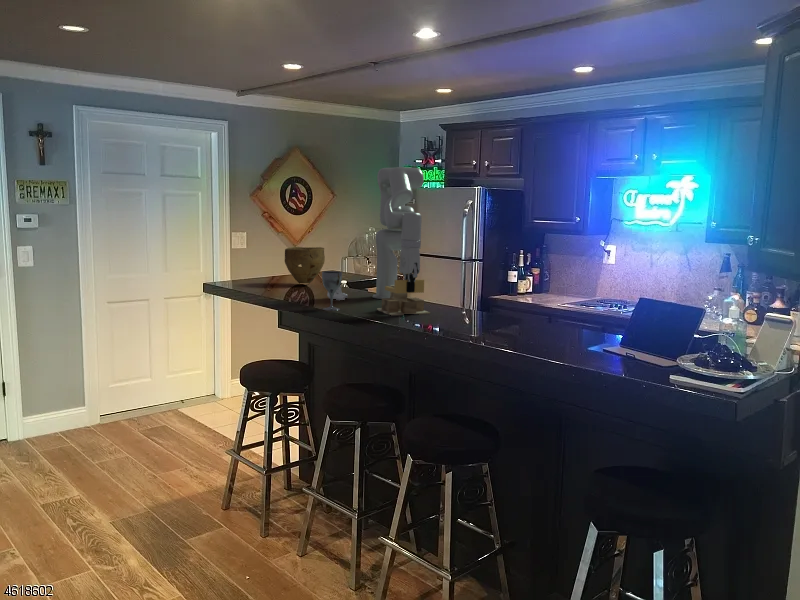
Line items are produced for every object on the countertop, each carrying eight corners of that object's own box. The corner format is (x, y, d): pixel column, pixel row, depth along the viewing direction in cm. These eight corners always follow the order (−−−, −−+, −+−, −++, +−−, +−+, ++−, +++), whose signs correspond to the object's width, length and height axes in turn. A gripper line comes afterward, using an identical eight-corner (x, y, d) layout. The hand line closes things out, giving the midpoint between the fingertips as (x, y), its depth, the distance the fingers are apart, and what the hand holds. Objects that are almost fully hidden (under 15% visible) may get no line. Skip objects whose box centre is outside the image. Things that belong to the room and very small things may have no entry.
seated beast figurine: (344, 301, 287) (344, 273, 285) (324, 300, 287) (325, 273, 286) (348, 298, 296) (348, 272, 294) (329, 297, 297) (329, 271, 295)
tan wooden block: (384, 289, 262) (385, 277, 261) (412, 289, 266) (412, 277, 266) (395, 293, 251) (396, 280, 251) (423, 292, 256) (424, 279, 255)
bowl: (297, 288, 324) (298, 248, 322) (276, 284, 339) (277, 246, 337) (332, 286, 338) (332, 248, 335) (310, 282, 353) (311, 245, 350)
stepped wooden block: (376, 309, 264) (377, 285, 263) (414, 308, 271) (415, 284, 270) (390, 315, 251) (391, 289, 249) (430, 314, 257) (431, 288, 256)
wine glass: (338, 311, 257) (338, 273, 255) (318, 309, 259) (319, 272, 257) (343, 308, 265) (344, 271, 263) (325, 307, 267) (325, 270, 265)
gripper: (394, 243, 258) (393, 289, 260) (410, 245, 243) (408, 294, 246) (411, 243, 261) (410, 289, 263) (428, 245, 246) (426, 294, 249)
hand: (409, 291), depth 254 cm, fingers closed on tan wooden block, 1 cm apart
